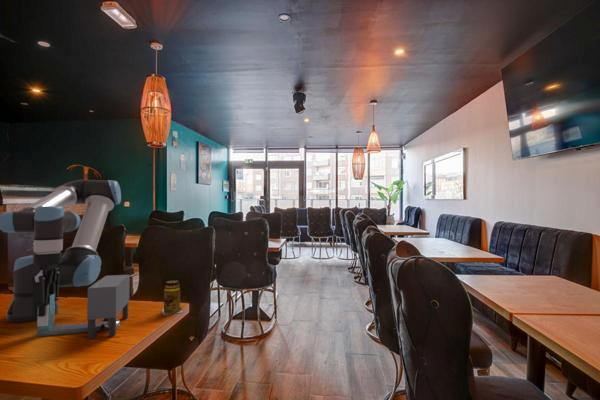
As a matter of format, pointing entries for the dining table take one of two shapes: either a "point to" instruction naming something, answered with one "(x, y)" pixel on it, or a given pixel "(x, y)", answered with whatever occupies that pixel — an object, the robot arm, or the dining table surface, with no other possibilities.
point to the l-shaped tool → (65, 328)
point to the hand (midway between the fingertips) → (45, 323)
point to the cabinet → (108, 301)
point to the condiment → (172, 298)
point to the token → (106, 324)
